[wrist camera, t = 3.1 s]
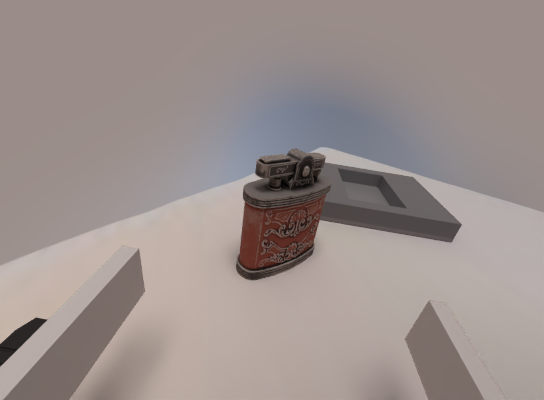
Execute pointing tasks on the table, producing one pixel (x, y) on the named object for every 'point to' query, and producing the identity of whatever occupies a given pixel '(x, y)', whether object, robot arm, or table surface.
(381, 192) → the dock
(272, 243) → the lighter
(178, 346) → the table surface
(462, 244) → the table surface
